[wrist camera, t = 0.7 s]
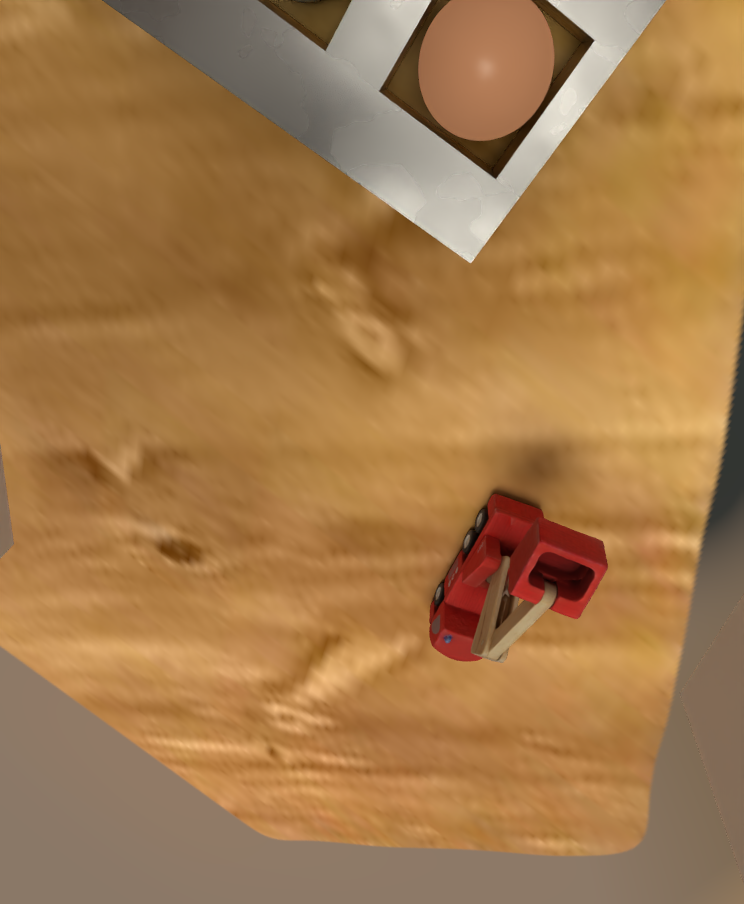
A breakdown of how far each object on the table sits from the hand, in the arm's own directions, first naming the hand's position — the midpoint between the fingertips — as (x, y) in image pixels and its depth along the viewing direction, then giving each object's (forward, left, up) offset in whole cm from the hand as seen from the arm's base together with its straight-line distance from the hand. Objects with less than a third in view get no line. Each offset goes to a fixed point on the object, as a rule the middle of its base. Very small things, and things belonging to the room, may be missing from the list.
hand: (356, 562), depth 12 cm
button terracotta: (-2, +7, -20) cm, 22 cm away
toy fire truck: (+13, -11, -23) cm, 29 cm away
